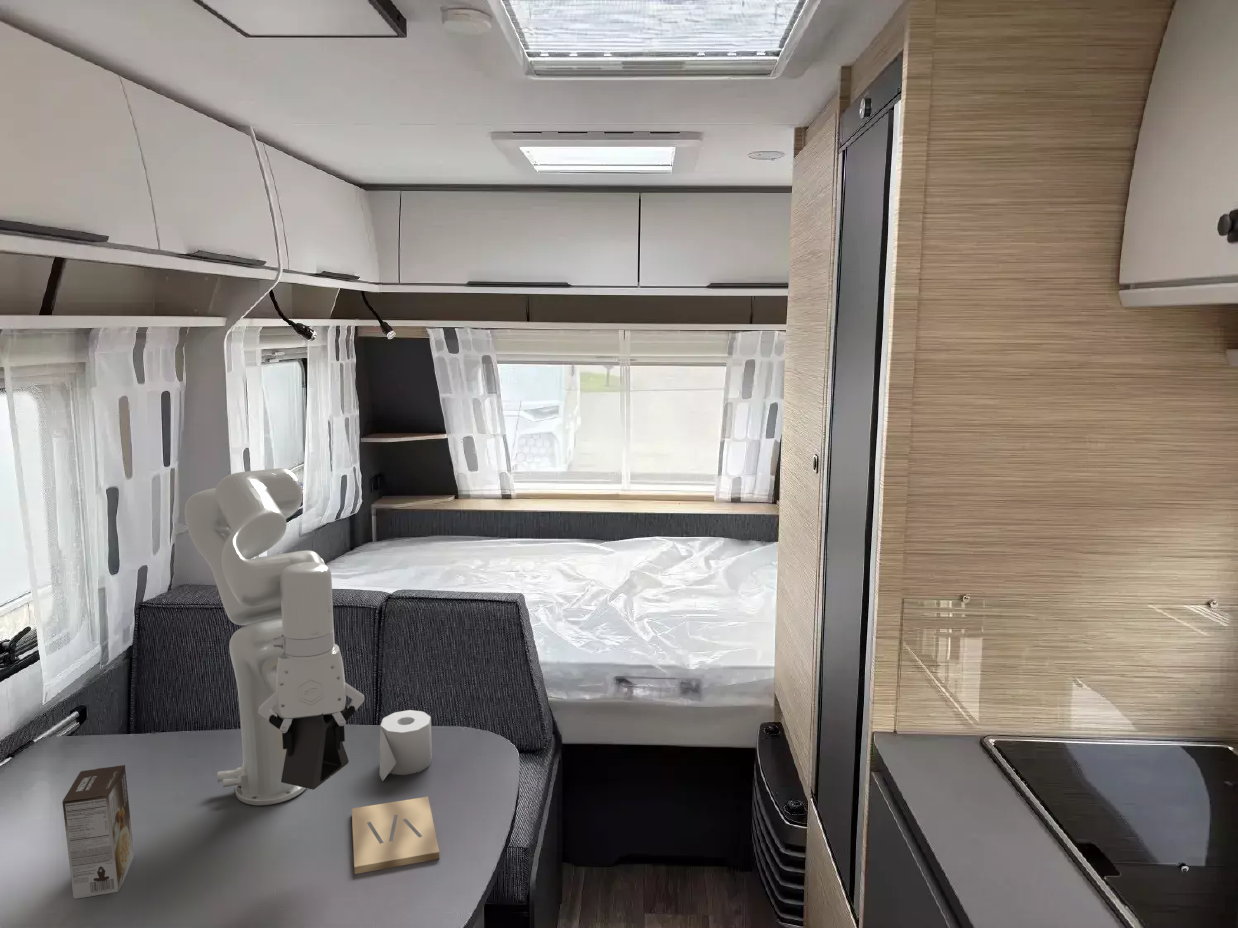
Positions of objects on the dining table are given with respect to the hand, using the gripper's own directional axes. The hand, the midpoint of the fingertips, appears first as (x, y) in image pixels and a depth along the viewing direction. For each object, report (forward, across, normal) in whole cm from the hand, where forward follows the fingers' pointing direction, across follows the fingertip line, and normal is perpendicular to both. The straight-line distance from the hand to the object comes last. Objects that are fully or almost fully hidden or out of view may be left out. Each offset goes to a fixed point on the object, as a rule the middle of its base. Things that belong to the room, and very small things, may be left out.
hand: (314, 747), depth 139 cm
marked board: (+17, +12, 0) cm, 21 cm away
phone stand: (+4, 0, 0) cm, 4 cm away
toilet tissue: (+18, +15, +23) cm, 33 cm away
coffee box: (+18, -31, +2) cm, 36 cm away
